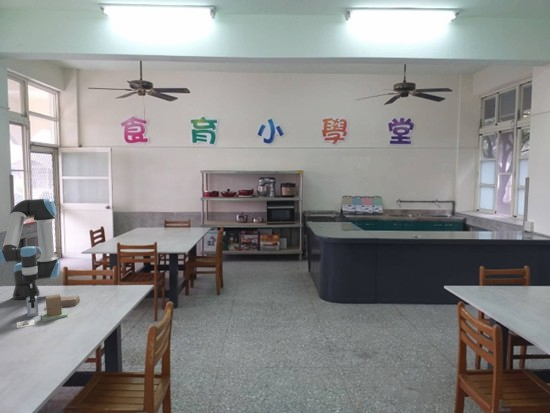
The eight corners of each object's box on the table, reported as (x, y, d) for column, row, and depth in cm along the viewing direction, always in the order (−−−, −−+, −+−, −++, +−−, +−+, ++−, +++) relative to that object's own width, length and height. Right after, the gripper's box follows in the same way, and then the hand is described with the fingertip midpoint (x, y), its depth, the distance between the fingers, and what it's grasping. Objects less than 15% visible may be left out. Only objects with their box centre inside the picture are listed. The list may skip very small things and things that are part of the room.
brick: (80, 301, 247) (79, 294, 246) (76, 305, 239) (76, 298, 238) (51, 304, 243) (51, 296, 243) (47, 308, 235) (46, 301, 235)
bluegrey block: (27, 314, 225) (26, 297, 224) (38, 312, 228) (36, 295, 227) (27, 317, 220) (26, 299, 220) (38, 315, 223) (37, 298, 222)
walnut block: (46, 313, 222) (45, 296, 221) (60, 310, 226) (59, 294, 225) (47, 316, 216) (46, 299, 216) (61, 314, 220) (60, 297, 219)
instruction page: (16, 322, 212) (16, 322, 212) (33, 319, 217) (33, 318, 217) (16, 328, 204) (16, 328, 204) (34, 324, 208) (34, 324, 208)
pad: (41, 315, 223) (41, 313, 223) (65, 310, 230) (64, 308, 230) (42, 321, 213) (42, 319, 213) (67, 316, 220) (67, 314, 220)
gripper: (21, 270, 230) (24, 305, 232) (22, 279, 210) (25, 317, 211) (36, 268, 234) (39, 302, 236) (38, 277, 214) (41, 314, 216)
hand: (32, 309), depth 224 cm, fingers open, 13 cm apart
